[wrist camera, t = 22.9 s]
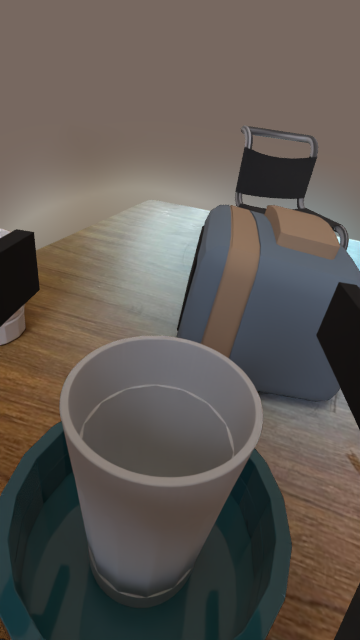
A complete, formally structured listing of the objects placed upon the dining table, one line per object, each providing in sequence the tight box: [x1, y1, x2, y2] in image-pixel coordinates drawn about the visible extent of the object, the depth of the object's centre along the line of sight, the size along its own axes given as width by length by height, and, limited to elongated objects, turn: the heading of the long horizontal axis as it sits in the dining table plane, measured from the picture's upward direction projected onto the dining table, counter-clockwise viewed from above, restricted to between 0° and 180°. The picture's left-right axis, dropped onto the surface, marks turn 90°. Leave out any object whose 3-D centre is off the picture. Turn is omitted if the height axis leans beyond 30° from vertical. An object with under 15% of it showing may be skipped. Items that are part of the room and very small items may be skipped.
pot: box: [0, 421, 292, 640], centre depth 19 cm, size 15×15×5 cm
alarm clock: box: [177, 205, 360, 401], centre depth 34 cm, size 16×16×16 cm
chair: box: [235, 126, 349, 250], centre depth 52 cm, size 13×17×22 cm
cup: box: [60, 335, 263, 608], centre depth 16 cm, size 8×8×12 cm
